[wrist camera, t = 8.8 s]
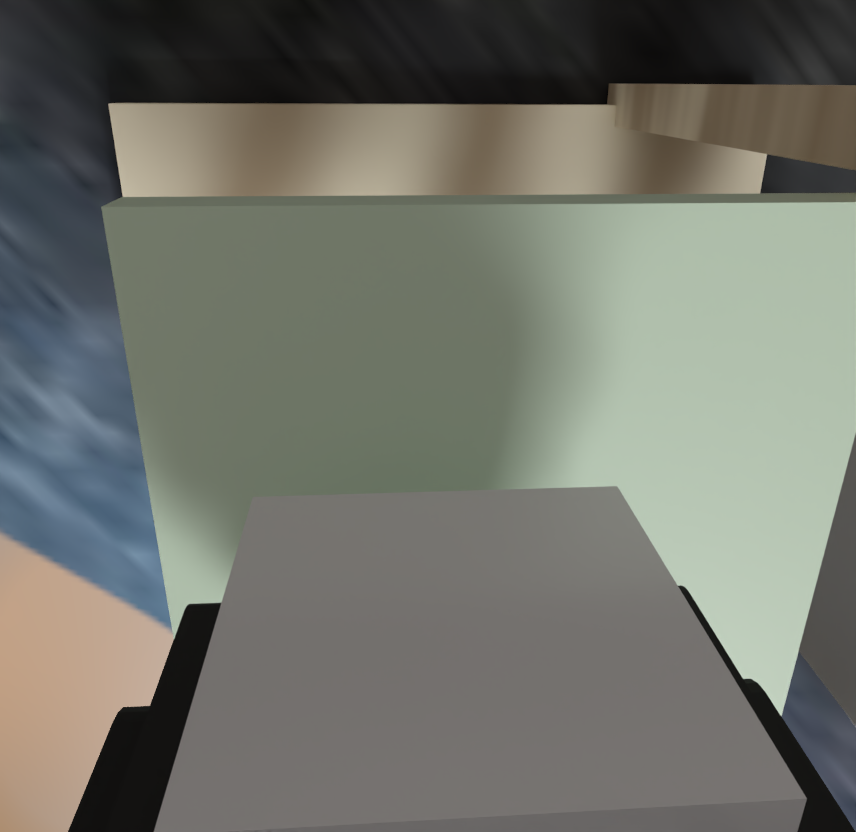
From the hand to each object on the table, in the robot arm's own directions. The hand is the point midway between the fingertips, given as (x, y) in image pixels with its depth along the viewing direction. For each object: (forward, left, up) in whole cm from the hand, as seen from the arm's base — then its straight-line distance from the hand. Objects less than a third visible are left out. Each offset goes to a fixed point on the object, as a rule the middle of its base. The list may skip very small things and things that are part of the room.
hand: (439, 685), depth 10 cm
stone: (0, 0, -1) cm, 1 cm away
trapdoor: (-5, 0, -7) cm, 9 cm away
